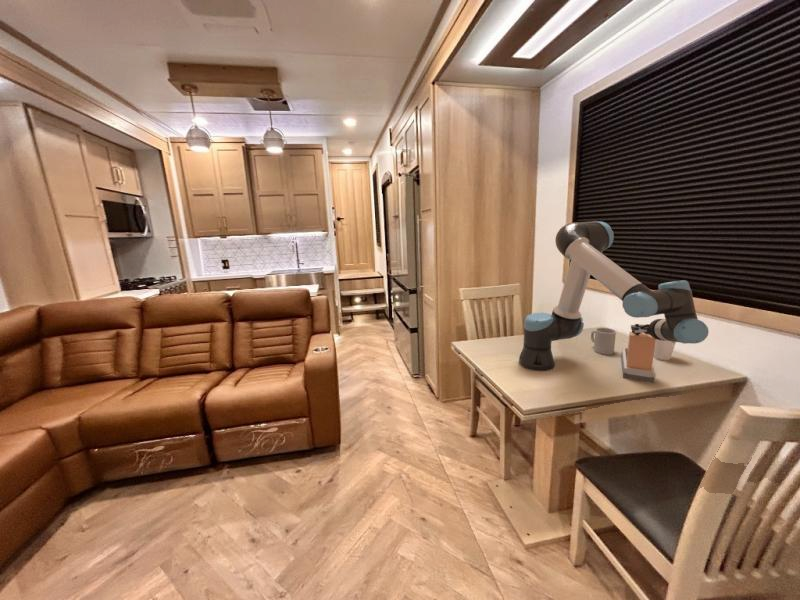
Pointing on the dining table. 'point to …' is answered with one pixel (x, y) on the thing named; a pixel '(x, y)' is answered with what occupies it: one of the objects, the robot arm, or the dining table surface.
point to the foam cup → (663, 349)
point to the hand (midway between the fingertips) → (634, 327)
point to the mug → (604, 340)
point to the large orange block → (640, 351)
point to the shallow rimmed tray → (635, 370)
